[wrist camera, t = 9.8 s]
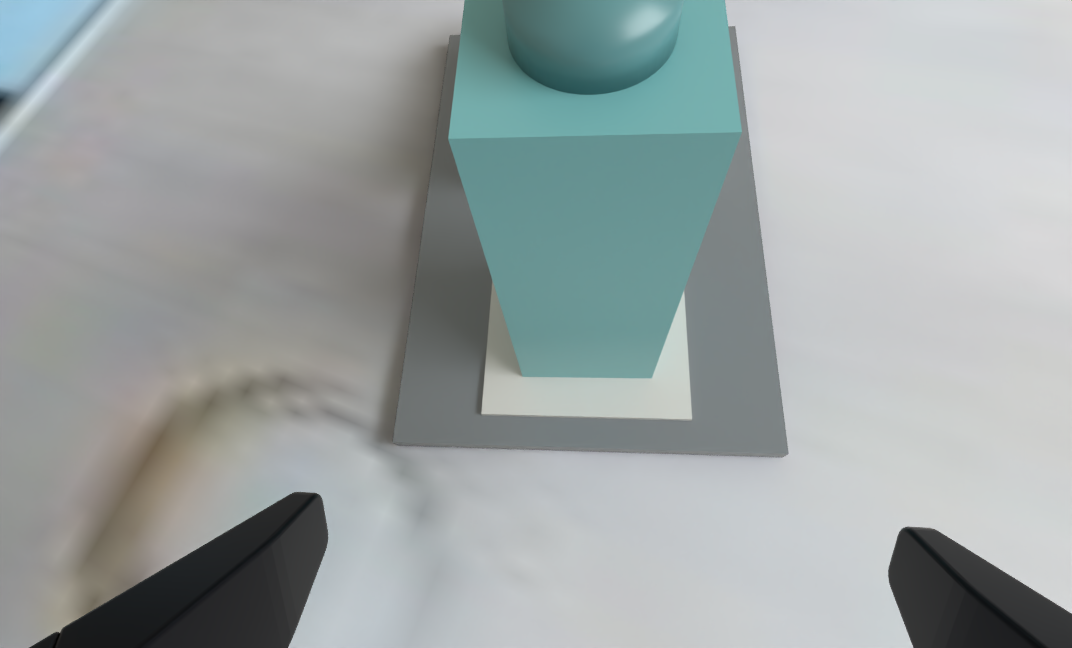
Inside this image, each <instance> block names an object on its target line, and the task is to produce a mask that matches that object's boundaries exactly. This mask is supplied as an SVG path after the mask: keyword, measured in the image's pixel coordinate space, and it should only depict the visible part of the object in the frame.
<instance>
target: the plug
mask: <svg viewBox="0 0 1072 648" xmlns="http://www.w3.org/2000/svg"><path fill="white" fill-rule="evenodd" d="M741 133H742V129H741V121H740V113H739V106H738V98H737V90H736V83H735V75H734V67H733V60H732V52H731V44H730V37H729V29H728V21H727V14H726V6H725V0H465V3H464V11H463V19H462V28H461V36H460V44H459V53H458V61H457V70H456V78H455V86H454V95H453V103H452V111H451V120H450V128H449V136H448V140H449V143H450V146H451V149H452V153H453V156H454V159H455V162H456V165H457V169H458V172H459V175H460V178H461V181H462V185H463V188H464V191H465V194H466V197H467V200H468V204H469V207H470V210H471V213H472V216H473V220H474V223H475V226H476V229H477V232H478V236H479V239H480V242H481V245H482V248H483V252H484V255H485V258H486V261H487V264H488V268H489V271H490V274H491V277H492V280H493V284H494V287H495V290H496V293H497V296H498V300H499V303H500V306H501V309H502V312H503V316H504V319H505V322H506V325H507V328H508V331H509V335H510V338H511V341H512V344H513V347H514V351H515V354H516V357H517V360H518V363H519V367H520V370H521V373H522V376H523V377H572V378H652V376H653V374H654V371H655V368H656V365H657V363H658V360H659V357H660V355H661V352H662V349H663V346H664V344H665V341H666V338H667V335H668V333H669V330H670V327H671V325H672V322H673V319H674V316H675V314H676V311H677V308H678V305H679V303H680V300H681V297H682V294H683V292H684V289H685V286H686V284H687V281H688V278H689V275H690V273H691V270H692V267H693V264H694V262H695V259H696V256H697V254H698V251H699V248H700V245H701V243H702V240H703V237H704V234H705V232H706V229H707V226H708V224H709V221H710V218H711V215H712V213H713V210H714V207H715V204H716V202H717V199H718V196H719V193H720V191H721V188H722V185H723V183H724V180H725V177H726V174H727V172H728V169H729V166H730V163H731V161H732V158H733V155H734V153H735V150H736V147H737V144H738V142H739V139H740V136H741Z"/></svg>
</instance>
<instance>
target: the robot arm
mask: <svg viewBox="0 0 1072 648" xmlns="http://www.w3.org/2000/svg"><path fill="white" fill-rule="evenodd" d="M327 543H328V529H327V523H326V517H325V512H324V506H323V501H322V498H321V496H320V495H319V494H317V493H308V492H294V493H292V494H290V495H288V496H286V497H285V498H283V499H281V500H280V501H278V502H276V503H275V504H273V505H271V506H269V507H268V508H266V509H264V510H263V511H261V512H259V513H258V514H256V515H254V516H252V517H251V518H249V519H247V520H246V521H244V522H242V523H241V524H239V525H237V526H235V527H234V528H232V529H230V530H229V531H227V532H225V533H224V534H222V535H220V536H218V537H217V538H215V539H213V540H212V541H210V542H208V543H207V544H205V545H203V546H201V547H200V548H198V549H196V550H195V551H193V552H191V553H190V554H188V555H186V556H184V557H183V558H181V559H179V560H178V561H176V562H174V563H173V564H171V565H169V566H167V567H166V568H164V569H162V570H161V571H159V572H157V573H155V574H154V575H152V576H150V577H149V578H147V579H145V580H144V581H142V582H140V583H138V584H137V585H135V586H133V587H132V588H130V589H128V590H127V591H125V592H123V593H121V594H120V595H118V596H116V597H115V598H113V599H111V600H110V601H108V602H106V603H104V604H103V605H101V606H99V607H98V608H96V609H94V610H92V611H91V612H89V613H87V614H86V615H84V616H82V617H81V618H79V619H77V620H75V621H74V622H72V623H70V624H69V625H67V626H65V627H64V628H63V629H62V630H61V632H60V633H59V632H55V633H53V634H51V635H50V636H48V637H46V638H45V639H43V640H41V641H40V642H38V643H36V644H35V645H33V646H31V647H29V648H288V647H289V644H290V642H291V640H292V638H293V635H294V633H295V630H296V628H297V625H298V623H299V620H300V617H301V615H302V612H303V609H304V607H305V604H306V601H307V599H308V596H309V593H310V591H311V588H312V585H313V583H314V580H315V577H316V575H317V572H318V569H319V567H320V564H321V561H322V559H323V556H324V553H325V551H326V548H327ZM888 577H889V583H890V587H891V589H892V592H893V595H894V597H895V600H896V603H897V605H898V608H899V611H900V613H901V616H902V619H903V621H904V624H905V627H906V629H907V632H908V635H909V637H910V640H911V642H912V645H913V648H1072V614H1071V613H1070V612H1068V611H1066V610H1065V609H1063V608H1062V607H1060V606H1058V605H1057V604H1055V603H1054V602H1052V601H1050V600H1049V599H1047V598H1045V597H1044V596H1042V595H1041V594H1039V593H1037V592H1036V591H1034V590H1033V589H1031V588H1029V587H1028V586H1026V585H1024V584H1023V583H1021V582H1020V581H1018V580H1016V579H1015V578H1013V577H1011V576H1010V575H1008V574H1007V573H1005V572H1003V571H1002V570H1000V569H999V568H997V567H995V566H994V565H992V564H990V563H989V562H987V561H986V560H984V559H982V558H981V557H979V556H978V555H976V554H974V553H973V552H971V551H969V550H968V549H966V548H965V547H963V546H961V545H960V544H958V543H956V542H955V541H953V540H952V539H950V538H948V537H947V536H945V535H944V534H942V533H940V532H939V531H937V530H935V529H932V528H922V527H905V528H903V529H901V531H900V532H899V534H898V537H897V541H896V544H895V548H894V551H893V555H892V558H891V562H890V565H889V570H888Z"/></svg>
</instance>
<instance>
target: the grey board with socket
mask: <svg viewBox="0 0 1072 648" xmlns="http://www.w3.org/2000/svg"><path fill="white" fill-rule="evenodd" d="M728 29H729V37H730V44H731V52H732V60H733V67H734V75H735V83H736V90H737V98H738V106H739V113H740V121H741V129H742V133H741V136H740V139H739V142H738V144H737V147H736V150H735V153H734V155H733V158H732V161H731V163H730V166H729V169H728V172H727V174H726V177H725V180H724V183H723V185H722V188H721V191H720V193H719V196H718V199H717V202H716V204H715V207H714V210H713V213H712V215H711V218H710V221H709V224H708V226H707V229H706V232H705V234H704V237H703V240H702V243H701V245H700V248H699V251H698V254H697V256H696V259H695V262H694V264H693V267H692V270H691V273H690V275H689V278H688V281H687V284H686V286H685V289H684V292H683V294H682V297H681V300H680V303H679V305H678V308H677V311H676V314H675V316H674V319H673V322H672V325H671V327H670V330H669V333H668V335H667V338H666V341H665V344H664V346H663V349H662V352H661V355H660V357H659V360H658V363H657V365H656V368H655V371H654V374H653V376H652V378H572V377H523V376H522V373H521V370H520V367H519V363H518V360H517V357H516V354H515V351H514V347H513V344H512V341H511V338H510V335H509V331H508V328H507V325H506V322H505V319H504V316H503V312H502V309H501V306H500V303H499V300H498V296H497V293H496V290H495V287H494V284H493V280H492V277H491V274H490V271H489V268H488V264H487V261H486V258H485V255H484V252H483V248H482V245H481V242H480V239H479V236H478V232H477V229H476V226H475V223H474V220H473V216H472V213H471V210H470V207H469V204H468V200H467V197H466V194H465V191H464V188H463V185H462V181H461V178H460V175H459V172H458V169H457V165H456V162H455V159H454V156H453V153H452V149H451V146H450V143H449V140H448V136H449V128H450V120H451V111H452V103H453V95H454V86H455V78H456V70H457V61H458V53H459V44H460V36H461V35H450V38H449V45H448V52H447V59H446V67H445V74H444V81H443V88H442V95H441V102H440V109H439V116H438V123H437V130H436V137H435V145H434V152H433V159H432V166H431V173H430V180H429V187H428V194H427V201H426V208H425V215H424V223H423V230H422V237H421V244H420V251H419V258H418V265H417V272H416V279H415V286H414V293H413V301H412V308H411V315H410V322H409V329H408V336H407V343H406V350H405V357H404V364H403V372H402V379H401V386H400V393H399V400H398V407H397V414H396V421H395V428H394V435H393V443H395V444H396V445H400V446H433V447H465V448H497V449H530V450H562V451H595V452H627V453H660V454H692V455H724V456H757V457H784V456H786V455H788V446H787V438H786V430H785V422H784V414H783V406H782V398H781V390H780V382H779V374H778V366H777V358H776V350H775V342H774V334H773V326H772V318H771V310H770V302H769V294H768V286H767V277H766V269H765V261H764V253H763V245H762V237H761V229H760V221H759V213H758V205H757V197H756V189H755V181H754V173H753V165H752V157H751V149H750V141H749V133H748V125H747V117H746V109H745V101H744V93H743V85H742V77H741V69H740V61H739V53H738V45H737V37H736V29H735V26H732V27H728Z"/></svg>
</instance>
